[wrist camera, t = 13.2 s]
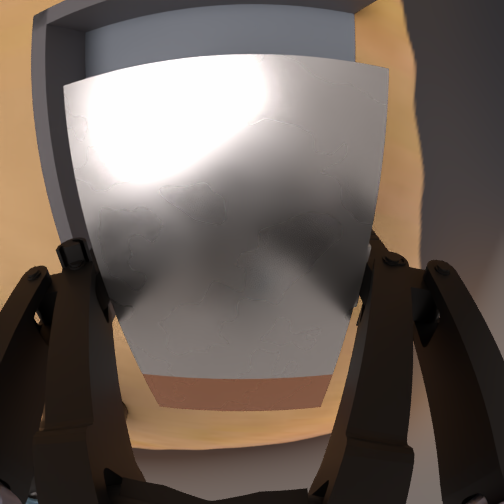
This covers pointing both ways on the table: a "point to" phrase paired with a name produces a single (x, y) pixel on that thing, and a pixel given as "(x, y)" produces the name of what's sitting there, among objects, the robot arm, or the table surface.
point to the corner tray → (159, 58)
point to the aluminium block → (231, 217)
